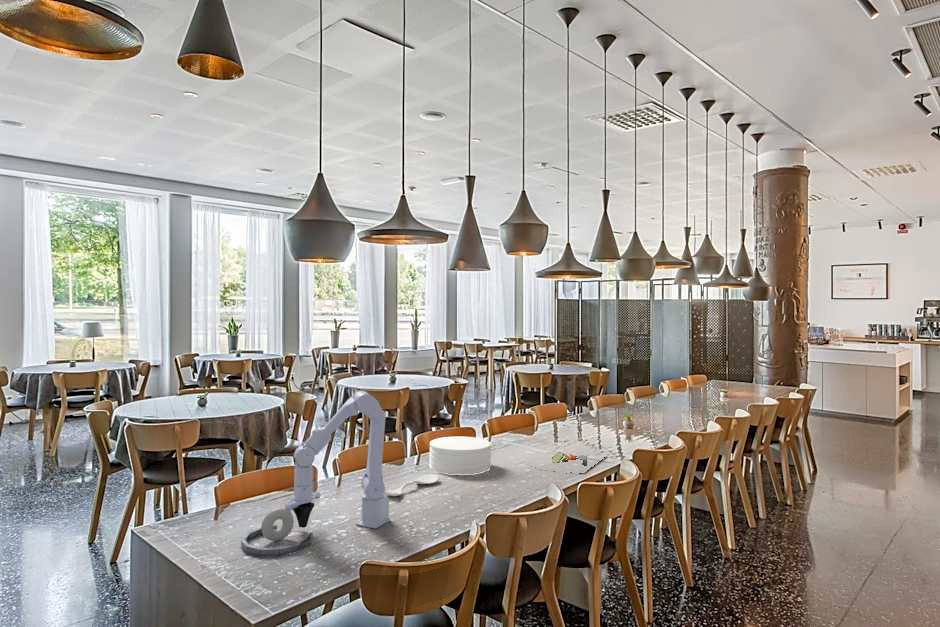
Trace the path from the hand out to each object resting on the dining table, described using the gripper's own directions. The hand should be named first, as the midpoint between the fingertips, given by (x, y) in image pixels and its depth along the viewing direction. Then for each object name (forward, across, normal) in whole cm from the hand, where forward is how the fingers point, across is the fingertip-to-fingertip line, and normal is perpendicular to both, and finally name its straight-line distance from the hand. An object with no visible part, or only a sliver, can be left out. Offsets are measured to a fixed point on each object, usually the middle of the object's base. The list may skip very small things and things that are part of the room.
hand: (302, 526), depth 191 cm
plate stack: (+2, -94, +12) cm, 95 cm away
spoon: (+2, -55, +8) cm, 56 cm away
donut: (+2, +10, -2) cm, 10 cm away
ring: (+1, +13, 0) cm, 13 cm away
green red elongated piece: (+2, -130, +53) cm, 140 cm away
